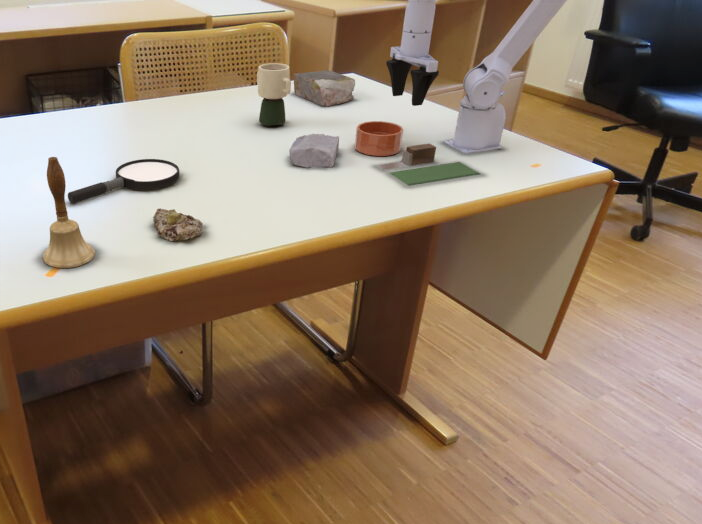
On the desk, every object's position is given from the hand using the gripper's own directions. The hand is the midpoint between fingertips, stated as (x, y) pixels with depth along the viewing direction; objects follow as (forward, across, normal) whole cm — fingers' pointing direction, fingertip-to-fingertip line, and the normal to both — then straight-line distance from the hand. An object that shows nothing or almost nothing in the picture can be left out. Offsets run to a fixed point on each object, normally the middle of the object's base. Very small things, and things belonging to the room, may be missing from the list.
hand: (407, 100), depth 146 cm
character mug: (+10, -23, -21) cm, 33 cm away
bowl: (+9, +2, -7) cm, 12 cm away
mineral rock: (+10, +24, -59) cm, 64 cm away
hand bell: (+10, +27, -78) cm, 83 cm away
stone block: (+10, +1, -22) cm, 24 cm away
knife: (+9, +12, -6) cm, 16 cm away
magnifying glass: (+10, +2, -63) cm, 64 cm away
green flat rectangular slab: (+9, +18, -4) cm, 21 cm away
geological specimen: (+10, -39, +1) cm, 40 cm away
